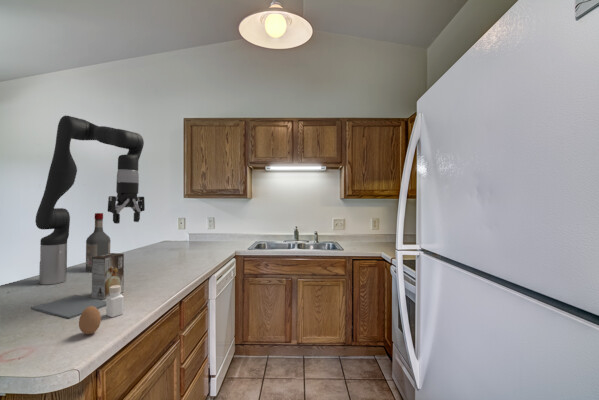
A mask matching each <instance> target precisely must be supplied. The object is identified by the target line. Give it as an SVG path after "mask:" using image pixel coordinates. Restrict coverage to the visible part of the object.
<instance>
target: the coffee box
mask: <svg viewBox="0 0 599 400" xmlns="http://www.w3.org/2000/svg"><path fill="white" fill-rule="evenodd" d="M124 256H125V254H124V253H116V252H110V253H109V254H105V255H100V256H96V257H92V272H91V298H92V299H97V300H106V298H107V297H108V296H110V287H111V286H115V285H120V286H121V292H120V294H122V293H124V289H125V287H124V285H125V284H124V282H125V281H124V276H125V275H124V274H125V270H124V269H125V264H124V263H125V262H124V261H125V257H124Z"/></svg>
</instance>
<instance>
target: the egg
mask: <svg viewBox="0 0 599 400" xmlns="http://www.w3.org/2000/svg"><path fill="white" fill-rule="evenodd" d="M101 322H102V315H101V313H100V311H99V309H97V308H96V307H93V306H89V307H87V308H86V309H85V310H84V311H83V312H82V314H81V315H79V319H78V328H79V330H80V332H82V333H83V334H84V335H92V334H94V333H95V332H97V330H98V329H99V328H100V325H101Z"/></svg>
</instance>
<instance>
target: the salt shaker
mask: <svg viewBox="0 0 599 400" xmlns="http://www.w3.org/2000/svg"><path fill="white" fill-rule="evenodd" d="M120 292H121V286H120V285H115V286H111V287H110V296H108V297H107V298H106V299H105V301H106V306H105V314H106V316H108V317H110V318H116V317H118V316H121V315H123V314H124V297H125V296H124V295H122V293H120Z"/></svg>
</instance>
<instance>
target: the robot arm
mask: <svg viewBox="0 0 599 400" xmlns="http://www.w3.org/2000/svg"><path fill="white" fill-rule="evenodd" d="M57 124H58V125H57V131H56V137H55V138H56V139H55V144H54V145H55V146H54V149H53V150H54V151H53V156H52V160H51V163H50V165H49V171H48V175H47V180H46V184H45V186H44V187H45V189H44V191H43V196H42V198H41V200H40V204H39V206H38V209H37V211H36V214H35V226H36V227H37V228H38V229H39V230H53V231H52V232H51V233H50V234H48V235H45V236H43V237H41V238H40V241H39V242H40V244H39V245H40V248H39V249H40V250H39V251H40V253H39V255H40V256H39V258H40V259H39V271H38V272H39V273H38V274H39V279H38V280H39V281H38V282H39V284H40V285H57V284H61V283H64V282H67V279H68V277H67V276H68V270H67V269H68V268H67V267H68V239H69V235H70V224H71V216H70V212H69V211H68V209H66V208H63V207H62V208H61V207H60V208H58V207H56V205H57V202H58V201H59V200H60V199H61V198H62V197H63V196H64V195H65V194H66V193H67V192H68V191H69V190H70V189H71V188H72V187H73V185H74V184H75V181H76V177H77V173H78V167H77V164H76V161H75V160H74V158H73V156H72V152H71V149H70V148H71V143H72V140H75V141H77V140H78V141H97V142H99V143H102V144H104V145H109V146H114V147H117V148H120V149H126V150H128V152H127V153H126V154H121V155H118V157H117V172H116V173H117V174H116V191H115V192H116V196H114V195H110V196H108V197H107V198H108V201H107V212H108V213H112V222H113V224H120V221H121V220H120V219H121V215H120V214H121V211H122V210H124V208H130V209H132V211H133V222H134V223H139V222H140V220H141V213H142V212H144V211H145V210H146V209H145V196H138V194H139V185H140V184H139V181H140V180H139V178H140V177H139V160H140V157H141V155H142V152H143V148H144V143H145V141H144V138H143V136H142V135H141V134H140V133H139V132H134V131H130V130H125V129H121V128H115V127H111V126H105V125H104V126H103V125H97V124H94V123H92V122H90V121H87V120H86V119H83V118H78V117H75V116H70V115H63V116H62V117H61V118H60V119H59V121H58V123H57Z"/></svg>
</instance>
